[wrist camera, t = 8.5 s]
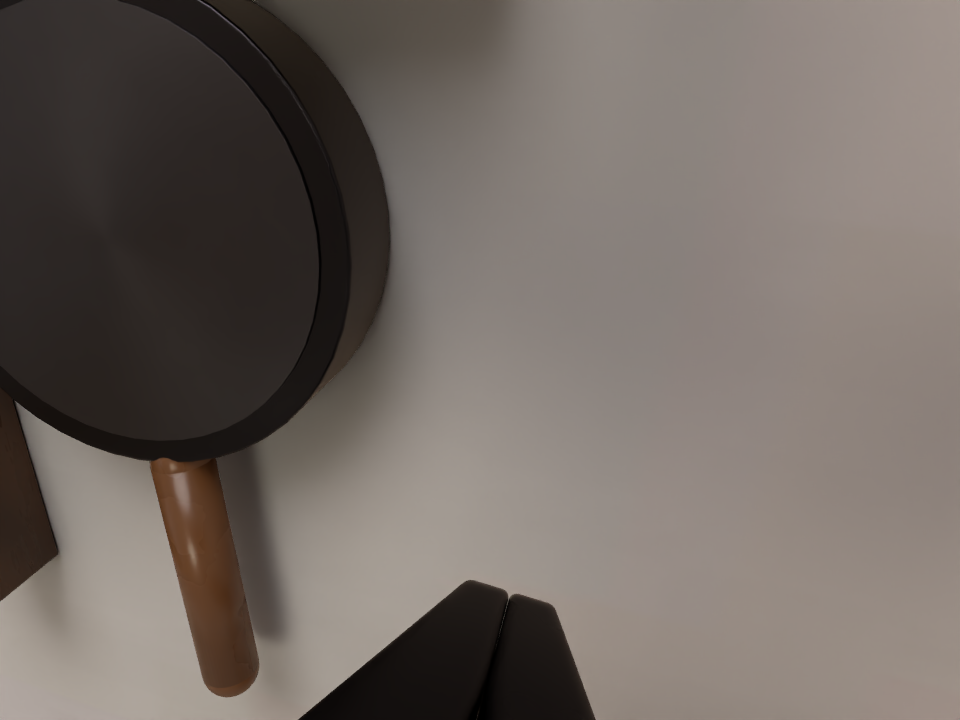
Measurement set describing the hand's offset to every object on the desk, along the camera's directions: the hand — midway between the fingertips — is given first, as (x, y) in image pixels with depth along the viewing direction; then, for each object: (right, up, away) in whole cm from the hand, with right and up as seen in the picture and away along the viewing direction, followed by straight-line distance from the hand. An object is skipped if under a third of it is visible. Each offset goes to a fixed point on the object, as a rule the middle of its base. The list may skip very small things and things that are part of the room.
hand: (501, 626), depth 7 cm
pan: (-7, +3, +11) cm, 13 cm away
